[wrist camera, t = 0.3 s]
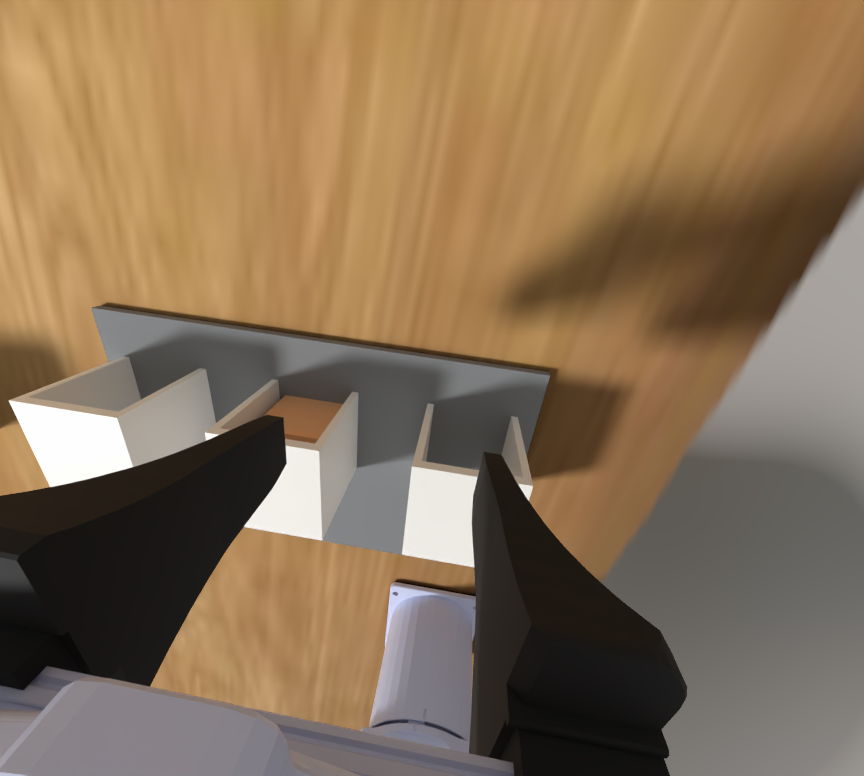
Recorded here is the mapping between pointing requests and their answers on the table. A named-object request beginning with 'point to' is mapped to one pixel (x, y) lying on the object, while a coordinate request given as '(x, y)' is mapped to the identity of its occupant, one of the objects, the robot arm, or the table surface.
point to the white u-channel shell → (302, 468)
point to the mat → (342, 400)
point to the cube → (304, 417)
